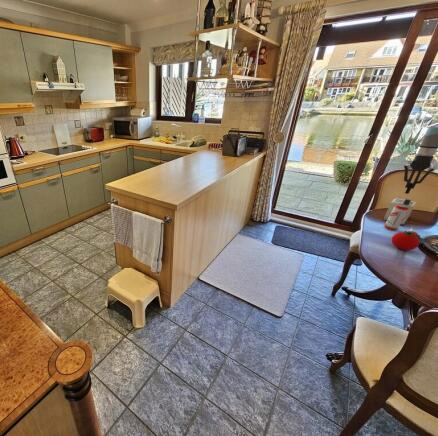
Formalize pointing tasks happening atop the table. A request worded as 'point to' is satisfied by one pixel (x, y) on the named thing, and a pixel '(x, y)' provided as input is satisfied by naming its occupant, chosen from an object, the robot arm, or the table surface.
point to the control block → (420, 239)
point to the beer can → (396, 217)
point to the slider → (407, 201)
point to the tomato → (405, 240)
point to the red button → (413, 232)
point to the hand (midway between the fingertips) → (406, 193)
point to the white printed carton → (394, 203)
